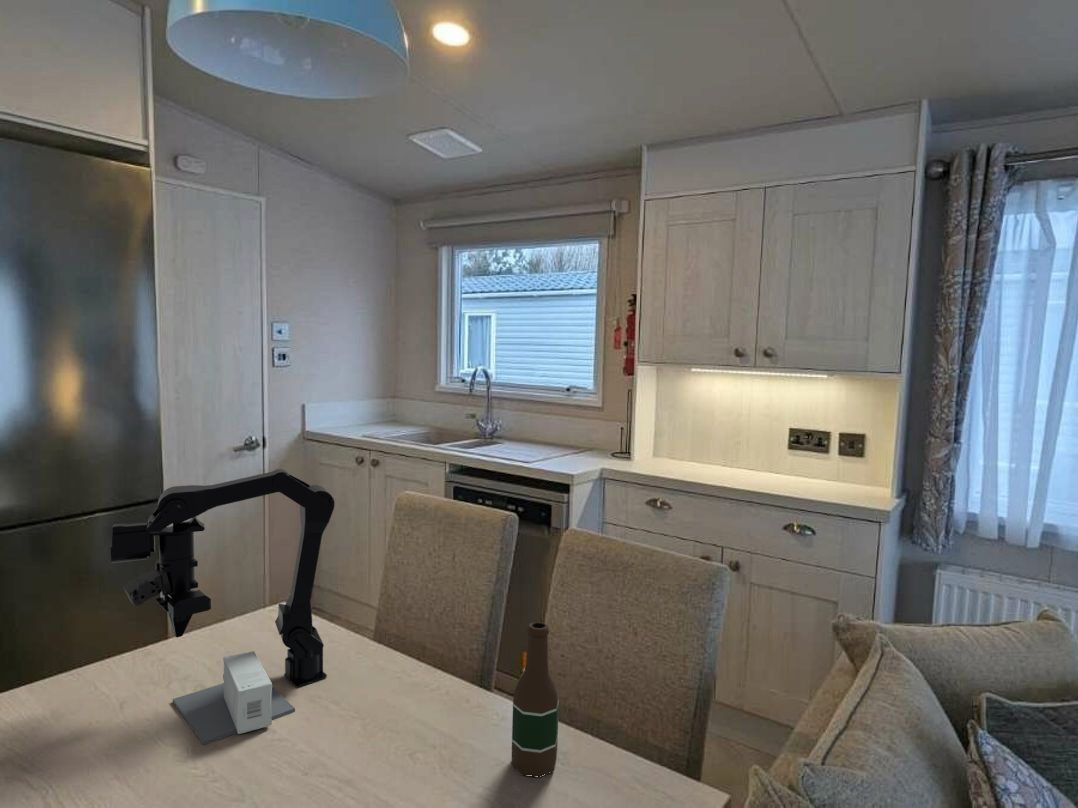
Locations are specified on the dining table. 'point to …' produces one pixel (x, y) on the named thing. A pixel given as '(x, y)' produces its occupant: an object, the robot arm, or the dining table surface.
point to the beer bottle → (535, 709)
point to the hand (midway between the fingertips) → (178, 636)
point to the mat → (219, 712)
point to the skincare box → (247, 692)
